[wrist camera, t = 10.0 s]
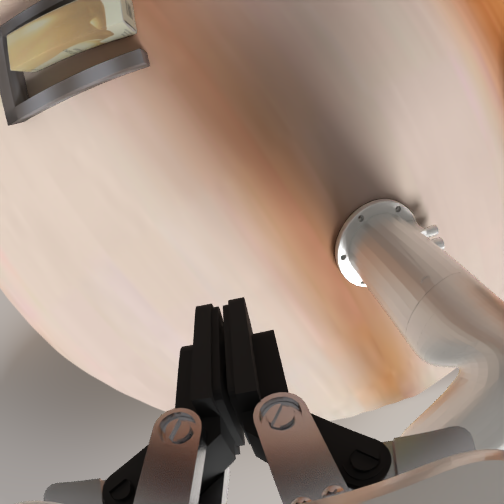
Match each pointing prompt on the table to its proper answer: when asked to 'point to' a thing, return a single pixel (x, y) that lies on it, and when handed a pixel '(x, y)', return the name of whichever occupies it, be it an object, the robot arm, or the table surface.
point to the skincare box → (69, 32)
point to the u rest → (24, 107)
